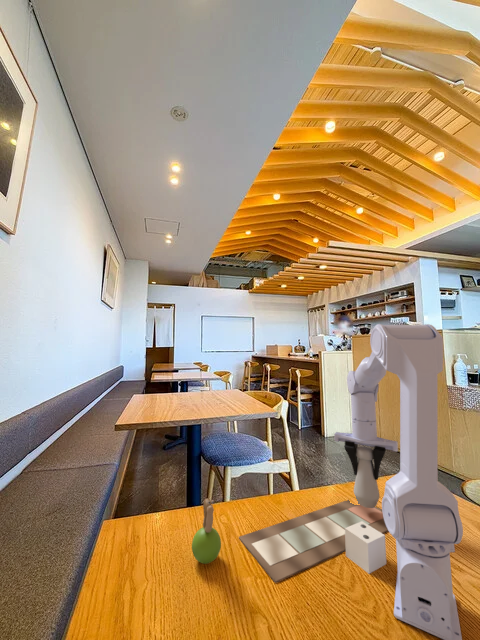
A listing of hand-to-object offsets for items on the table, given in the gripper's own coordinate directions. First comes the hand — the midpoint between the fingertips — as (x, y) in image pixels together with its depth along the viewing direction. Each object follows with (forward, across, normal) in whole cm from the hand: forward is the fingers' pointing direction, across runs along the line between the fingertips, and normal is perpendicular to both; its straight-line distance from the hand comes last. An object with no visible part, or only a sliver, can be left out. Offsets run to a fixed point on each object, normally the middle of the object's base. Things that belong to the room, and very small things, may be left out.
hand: (366, 475), depth 69 cm
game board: (+9, +7, +12) cm, 17 cm away
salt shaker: (+6, 0, 0) cm, 7 cm away
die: (+9, -2, +17) cm, 19 cm away
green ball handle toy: (+9, +23, +34) cm, 42 cm away
